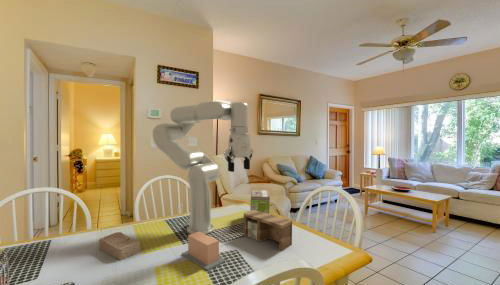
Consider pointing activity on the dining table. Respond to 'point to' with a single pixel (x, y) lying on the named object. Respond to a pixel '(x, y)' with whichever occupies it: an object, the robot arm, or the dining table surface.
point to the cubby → (268, 228)
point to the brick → (119, 245)
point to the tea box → (260, 201)
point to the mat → (200, 263)
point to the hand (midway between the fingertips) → (239, 170)
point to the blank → (203, 247)
